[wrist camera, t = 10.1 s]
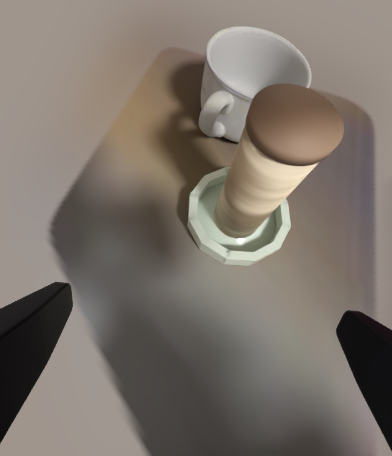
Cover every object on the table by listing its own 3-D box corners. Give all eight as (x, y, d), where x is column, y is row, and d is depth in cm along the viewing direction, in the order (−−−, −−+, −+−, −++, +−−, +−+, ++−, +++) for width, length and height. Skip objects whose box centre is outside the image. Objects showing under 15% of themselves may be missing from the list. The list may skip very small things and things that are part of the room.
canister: (269, 227, 23) (363, 137, 11) (227, 247, 22) (287, 169, 10) (243, 189, 24) (304, 75, 13) (204, 206, 23) (232, 97, 12)
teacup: (238, 83, 32) (258, 13, 24) (296, 131, 29) (336, 68, 22) (160, 127, 28) (155, 57, 20) (219, 186, 25) (238, 132, 18)
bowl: (299, 239, 23) (310, 232, 22) (217, 283, 21) (221, 279, 19) (248, 166, 26) (254, 155, 25) (171, 198, 24) (171, 188, 22)
